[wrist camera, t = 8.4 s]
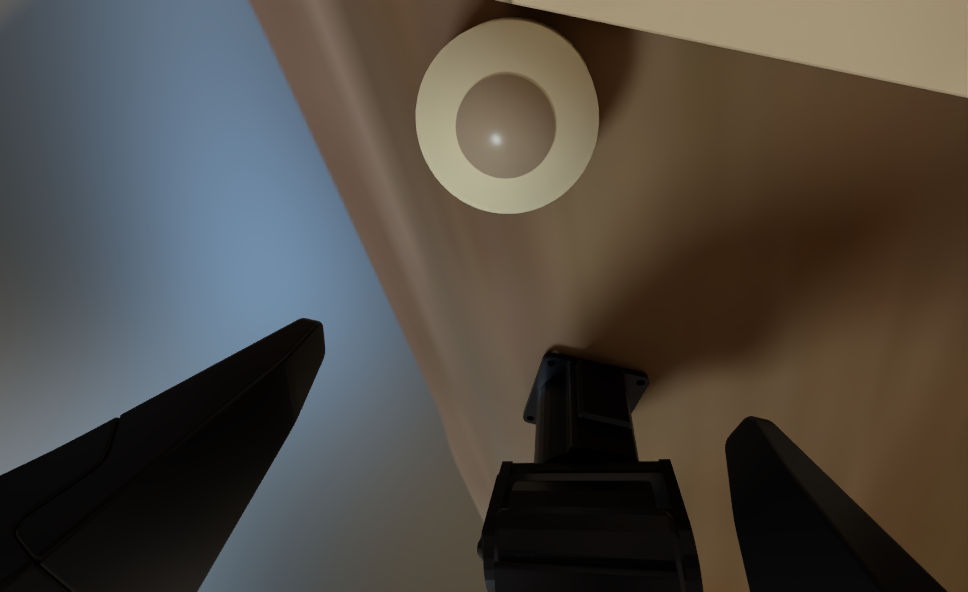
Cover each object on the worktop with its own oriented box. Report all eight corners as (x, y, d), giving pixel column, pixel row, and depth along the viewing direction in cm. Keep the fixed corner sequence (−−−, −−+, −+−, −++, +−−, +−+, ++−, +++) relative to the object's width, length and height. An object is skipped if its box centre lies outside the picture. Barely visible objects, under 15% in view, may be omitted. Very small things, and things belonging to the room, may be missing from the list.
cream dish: (567, 205, 20) (568, 229, 18) (424, 175, 20) (410, 196, 18) (619, 37, 16) (628, 44, 14) (438, -1, 16) (421, 1, 14)
